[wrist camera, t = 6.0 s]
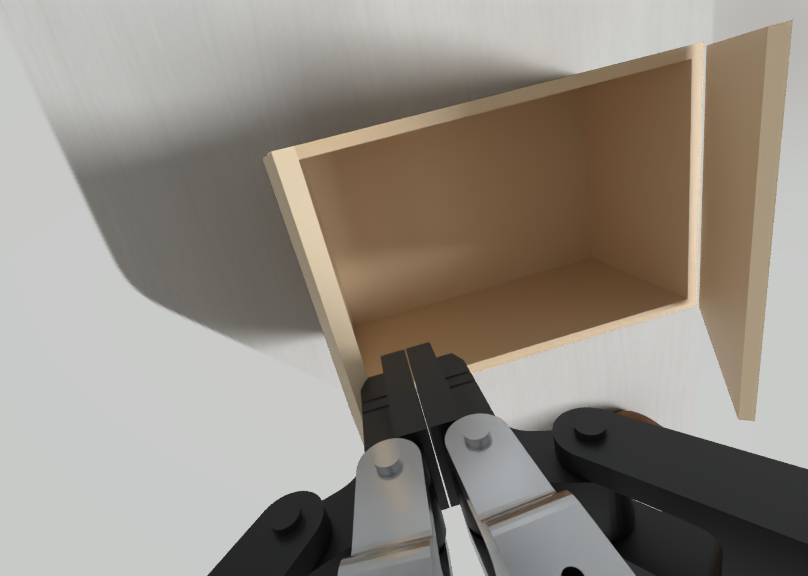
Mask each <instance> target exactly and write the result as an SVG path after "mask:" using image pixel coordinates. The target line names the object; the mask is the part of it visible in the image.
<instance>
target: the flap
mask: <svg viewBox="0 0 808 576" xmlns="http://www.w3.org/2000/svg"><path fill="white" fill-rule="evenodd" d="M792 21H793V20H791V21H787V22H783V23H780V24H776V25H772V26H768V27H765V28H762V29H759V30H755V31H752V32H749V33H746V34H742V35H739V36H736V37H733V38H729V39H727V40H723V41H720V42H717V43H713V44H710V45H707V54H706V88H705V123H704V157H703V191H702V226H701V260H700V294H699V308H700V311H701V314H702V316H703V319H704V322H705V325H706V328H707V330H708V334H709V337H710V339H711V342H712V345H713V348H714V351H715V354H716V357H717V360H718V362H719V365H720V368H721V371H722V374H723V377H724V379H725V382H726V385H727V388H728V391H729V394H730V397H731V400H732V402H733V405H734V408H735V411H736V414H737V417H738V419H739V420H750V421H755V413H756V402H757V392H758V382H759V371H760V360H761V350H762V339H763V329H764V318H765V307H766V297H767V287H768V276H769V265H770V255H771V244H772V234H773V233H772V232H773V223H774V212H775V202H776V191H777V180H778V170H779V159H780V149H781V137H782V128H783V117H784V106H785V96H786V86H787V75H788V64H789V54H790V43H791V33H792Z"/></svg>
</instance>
